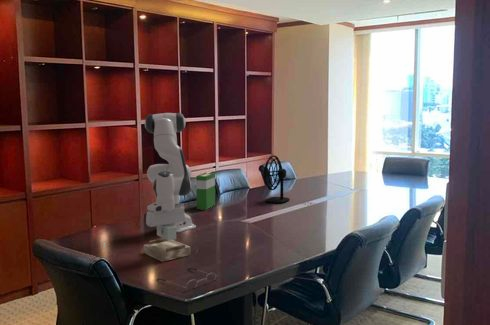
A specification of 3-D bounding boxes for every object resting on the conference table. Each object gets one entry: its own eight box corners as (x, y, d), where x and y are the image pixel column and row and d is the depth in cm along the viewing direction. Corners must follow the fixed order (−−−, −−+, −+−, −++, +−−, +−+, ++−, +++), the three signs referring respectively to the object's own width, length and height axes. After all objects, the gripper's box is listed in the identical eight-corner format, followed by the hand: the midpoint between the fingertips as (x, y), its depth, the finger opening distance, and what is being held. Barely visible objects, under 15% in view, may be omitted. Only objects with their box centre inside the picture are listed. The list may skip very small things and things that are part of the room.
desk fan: (273, 197, 379) (274, 153, 375) (294, 199, 371) (294, 154, 367) (258, 203, 356) (258, 156, 352) (279, 205, 347) (279, 158, 343)
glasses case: (165, 233, 239) (164, 222, 239) (176, 239, 230) (176, 226, 229) (156, 235, 237) (156, 223, 236) (168, 240, 227) (167, 228, 226)
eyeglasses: (185, 292, 187) (185, 283, 186) (156, 282, 199) (155, 273, 199) (218, 280, 200) (217, 271, 200) (188, 271, 213) (187, 262, 212)
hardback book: (205, 204, 351) (205, 172, 348) (215, 205, 349) (214, 172, 346) (196, 209, 334) (196, 176, 331) (206, 210, 332) (206, 176, 329)
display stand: (171, 246, 246) (171, 236, 246) (190, 254, 233) (190, 243, 232) (143, 252, 236) (143, 242, 235) (162, 261, 223) (162, 250, 222)
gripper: (180, 201, 241) (180, 228, 242) (144, 206, 227) (144, 235, 229) (187, 203, 236) (187, 230, 237) (150, 209, 223) (151, 237, 224)
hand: (166, 232), depth 233 cm, fingers closed on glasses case, 5 cm apart
